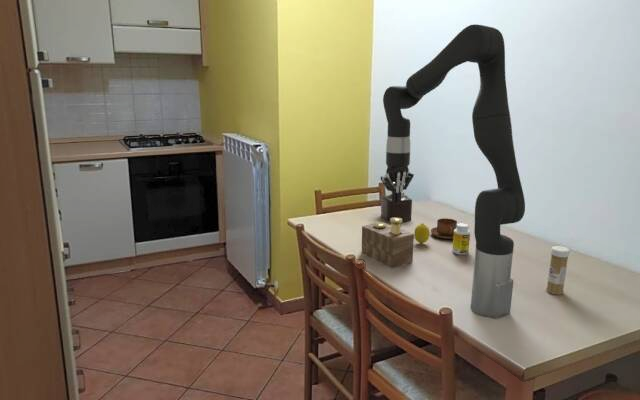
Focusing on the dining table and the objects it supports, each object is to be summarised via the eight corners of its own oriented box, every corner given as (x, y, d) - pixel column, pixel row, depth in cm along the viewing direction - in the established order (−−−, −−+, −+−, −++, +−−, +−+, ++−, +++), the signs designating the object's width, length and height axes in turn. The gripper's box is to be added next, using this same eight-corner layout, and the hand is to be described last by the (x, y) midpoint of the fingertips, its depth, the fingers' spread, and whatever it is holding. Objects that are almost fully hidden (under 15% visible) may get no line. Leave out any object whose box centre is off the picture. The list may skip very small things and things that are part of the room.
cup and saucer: (468, 239, 188) (469, 223, 186) (442, 243, 183) (443, 227, 182) (449, 229, 199) (450, 215, 197) (424, 233, 194) (425, 218, 193)
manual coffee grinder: (413, 220, 210) (415, 179, 206) (389, 222, 207) (390, 181, 203) (398, 211, 225) (400, 172, 220) (375, 212, 222) (377, 173, 217)
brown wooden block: (412, 262, 165) (414, 233, 162) (392, 267, 160) (393, 238, 157) (380, 248, 177) (381, 221, 175) (361, 253, 172) (362, 226, 170)
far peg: (386, 251, 171) (387, 224, 168) (378, 254, 169) (379, 226, 166) (379, 248, 174) (380, 221, 172) (370, 250, 172) (371, 223, 169)
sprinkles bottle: (542, 290, 143) (548, 246, 140) (554, 287, 145) (559, 244, 142) (555, 296, 139) (561, 252, 136) (567, 293, 141) (573, 249, 138)
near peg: (403, 247, 164) (404, 219, 161) (394, 250, 161) (395, 221, 159) (395, 244, 167) (396, 216, 164) (386, 246, 165) (387, 218, 162)
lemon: (411, 245, 181) (412, 224, 179) (416, 240, 185) (417, 220, 183) (426, 247, 178) (427, 226, 176) (430, 242, 183) (432, 222, 181)
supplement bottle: (461, 256, 170) (463, 228, 167) (448, 251, 174) (450, 224, 172) (471, 253, 173) (474, 225, 170) (459, 248, 177) (461, 221, 175)
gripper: (390, 153, 149) (389, 208, 153) (421, 150, 156) (419, 202, 161) (374, 150, 155) (373, 203, 159) (404, 147, 162) (403, 198, 167)
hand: (396, 203), depth 160 cm, fingers closed
